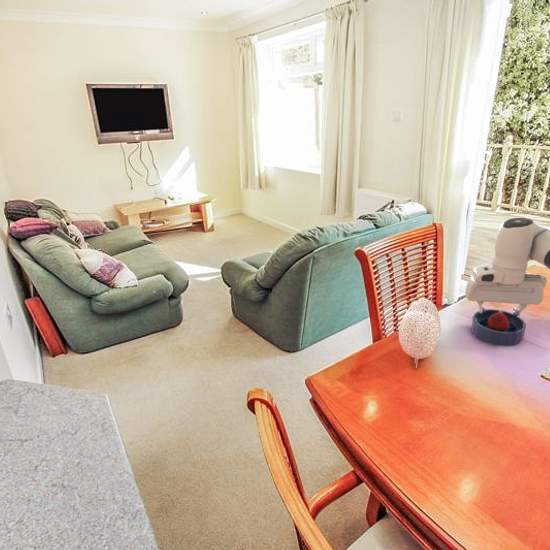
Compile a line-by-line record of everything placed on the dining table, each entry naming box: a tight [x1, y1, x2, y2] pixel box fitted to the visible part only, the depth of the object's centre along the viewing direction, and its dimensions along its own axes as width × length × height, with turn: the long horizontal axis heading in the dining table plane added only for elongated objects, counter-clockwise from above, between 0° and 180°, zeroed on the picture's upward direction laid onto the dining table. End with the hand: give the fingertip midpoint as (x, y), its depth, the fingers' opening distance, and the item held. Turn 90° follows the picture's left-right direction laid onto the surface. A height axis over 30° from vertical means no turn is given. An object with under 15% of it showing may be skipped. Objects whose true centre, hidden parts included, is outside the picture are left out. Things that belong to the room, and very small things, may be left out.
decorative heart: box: [398, 298, 441, 369], centre depth 107 cm, size 18×11×17 cm, turn 150°
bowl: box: [470, 308, 527, 347], centre depth 117 cm, size 14×14×5 cm
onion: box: [488, 310, 509, 332], centre depth 117 cm, size 6×6×8 cm
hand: (498, 313), depth 116 cm, fingers open, 8 cm apart
